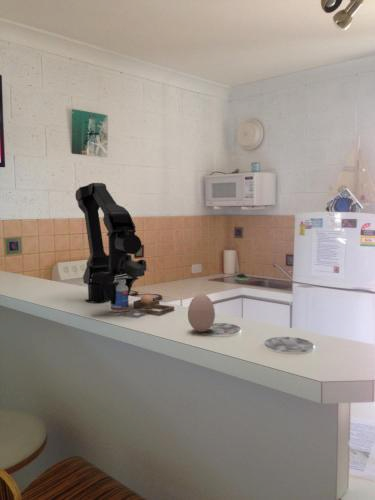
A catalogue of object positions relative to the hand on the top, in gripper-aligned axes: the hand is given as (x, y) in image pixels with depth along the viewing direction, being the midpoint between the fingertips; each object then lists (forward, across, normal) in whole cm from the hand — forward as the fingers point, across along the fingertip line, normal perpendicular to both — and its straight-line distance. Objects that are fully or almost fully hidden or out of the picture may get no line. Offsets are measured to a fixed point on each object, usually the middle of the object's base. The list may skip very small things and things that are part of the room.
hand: (119, 302), depth 142 cm
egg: (+3, -9, -34) cm, 35 cm away
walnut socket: (+2, +4, -11) cm, 12 cm away
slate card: (+2, -2, -7) cm, 8 cm away
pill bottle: (+3, 0, 0) cm, 3 cm away
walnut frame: (+2, +7, -5) cm, 9 cm away
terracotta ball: (+2, +7, -5) cm, 9 cm away
